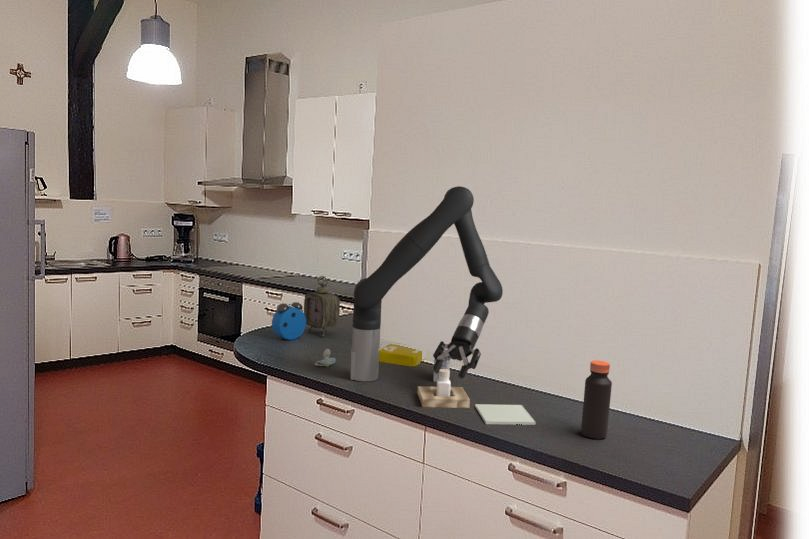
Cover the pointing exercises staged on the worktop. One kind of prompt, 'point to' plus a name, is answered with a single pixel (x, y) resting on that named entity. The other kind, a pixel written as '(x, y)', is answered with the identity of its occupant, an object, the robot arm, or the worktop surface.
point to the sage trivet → (504, 414)
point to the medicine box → (444, 366)
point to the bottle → (596, 401)
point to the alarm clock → (289, 321)
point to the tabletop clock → (321, 308)
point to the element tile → (400, 355)
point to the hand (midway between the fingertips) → (447, 374)
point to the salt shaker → (443, 383)
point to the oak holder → (443, 398)
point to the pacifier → (326, 359)
